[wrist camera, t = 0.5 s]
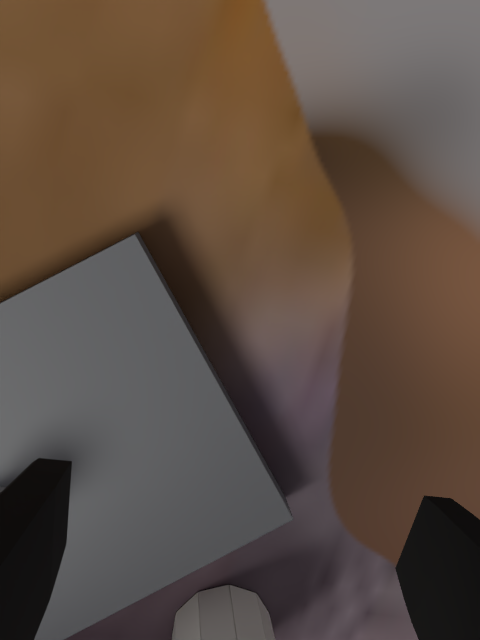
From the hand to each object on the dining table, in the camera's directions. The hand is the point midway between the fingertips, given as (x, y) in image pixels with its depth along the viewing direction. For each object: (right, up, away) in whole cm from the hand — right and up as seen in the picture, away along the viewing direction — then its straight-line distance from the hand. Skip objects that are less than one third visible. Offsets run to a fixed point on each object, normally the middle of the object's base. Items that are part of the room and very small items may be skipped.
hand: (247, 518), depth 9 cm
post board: (-10, -3, +10) cm, 15 cm away
